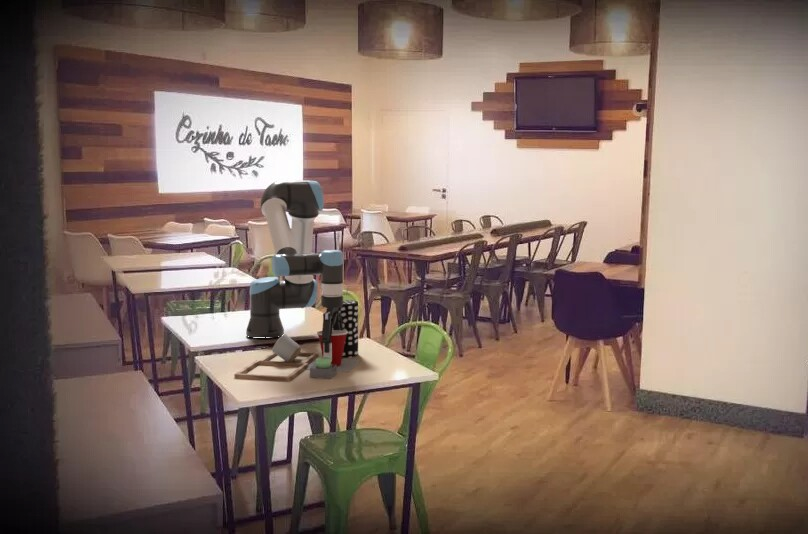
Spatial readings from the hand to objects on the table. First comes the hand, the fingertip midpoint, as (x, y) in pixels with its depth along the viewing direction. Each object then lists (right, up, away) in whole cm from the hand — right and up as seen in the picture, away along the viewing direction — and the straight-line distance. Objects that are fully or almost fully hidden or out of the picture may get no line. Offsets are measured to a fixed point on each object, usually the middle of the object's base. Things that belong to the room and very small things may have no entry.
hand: (332, 357), depth 273 cm
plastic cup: (0, -3, 0) cm, 3 cm away
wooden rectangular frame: (-18, -3, -1) cm, 18 cm away
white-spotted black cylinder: (+4, -1, +15) cm, 15 cm away
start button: (-2, -1, -14) cm, 14 cm away
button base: (-2, -5, -13) cm, 14 cm away
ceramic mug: (-16, -2, +7) cm, 18 cm away
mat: (0, -3, 0) cm, 3 cm away
